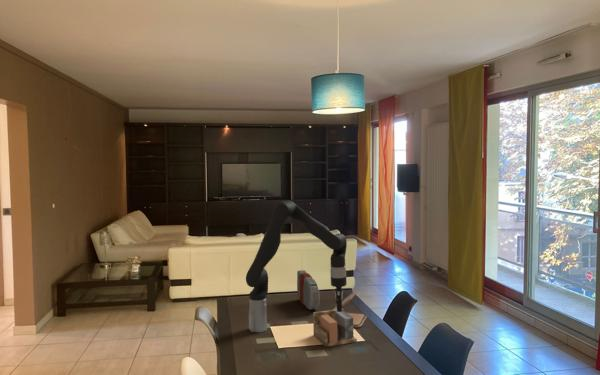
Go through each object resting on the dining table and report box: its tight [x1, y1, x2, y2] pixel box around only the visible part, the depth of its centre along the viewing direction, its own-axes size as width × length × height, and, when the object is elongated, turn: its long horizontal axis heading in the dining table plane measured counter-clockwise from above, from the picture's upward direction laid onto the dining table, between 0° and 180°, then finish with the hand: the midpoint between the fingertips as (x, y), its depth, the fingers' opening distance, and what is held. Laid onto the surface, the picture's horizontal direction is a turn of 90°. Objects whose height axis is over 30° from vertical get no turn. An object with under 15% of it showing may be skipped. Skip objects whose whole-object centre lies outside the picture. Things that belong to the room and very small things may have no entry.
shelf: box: [312, 308, 358, 347], centre depth 229 cm, size 17×16×12 cm
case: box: [332, 289, 368, 329], centre depth 255 cm, size 20×21×16 cm
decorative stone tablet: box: [296, 269, 321, 310], centre depth 283 cm, size 19×6×30 cm
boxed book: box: [321, 315, 337, 343], centre depth 225 cm, size 4×12×10 cm, turn 19°
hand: (339, 308), depth 217 cm, fingers open, 8 cm apart
